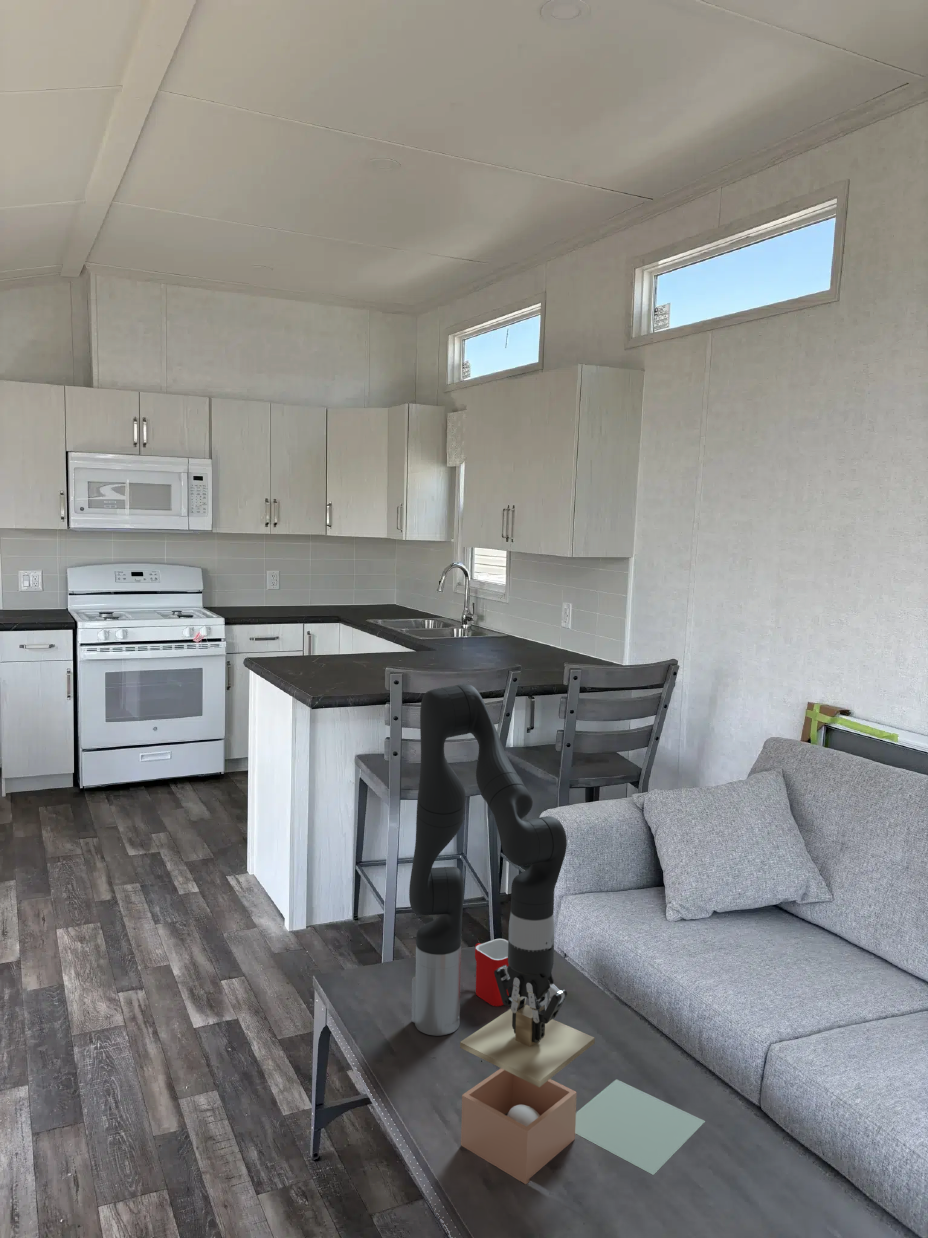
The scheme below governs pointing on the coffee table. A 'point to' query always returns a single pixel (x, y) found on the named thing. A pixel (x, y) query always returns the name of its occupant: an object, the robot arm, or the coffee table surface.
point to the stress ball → (523, 1114)
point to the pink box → (517, 1123)
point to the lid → (527, 1046)
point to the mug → (490, 969)
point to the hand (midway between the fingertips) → (528, 1036)
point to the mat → (635, 1126)
